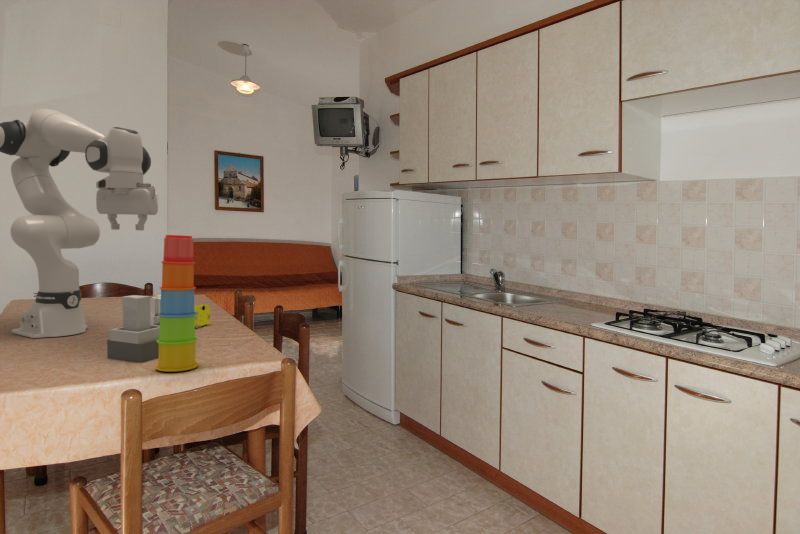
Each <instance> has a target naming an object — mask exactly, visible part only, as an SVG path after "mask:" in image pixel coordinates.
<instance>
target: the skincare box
mask: <svg viewBox="0 0 800 534" xmlns="http://www.w3.org/2000/svg"><path fill="white" fill-rule="evenodd" d="M150 297H151V296H150V295H140V294H139V295H136V294H132V295H125V296H122V298H121V299H122V327H123V330H126V331H135V332H140V331H144V330H148V329H151V318H150Z"/></svg>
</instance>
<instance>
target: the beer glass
mask: <svg viewBox="0 0 800 534" xmlns="http://www.w3.org/2000/svg"><path fill="white" fill-rule="evenodd" d="M159 313H161V295H153V296H152V295H151V296H150V318H151V325H159V326H160V316H158V314H159Z"/></svg>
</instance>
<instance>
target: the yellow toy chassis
mask: <svg viewBox="0 0 800 534" xmlns="http://www.w3.org/2000/svg"><path fill="white" fill-rule="evenodd" d="M194 312H196V313H197V314H196V315H195V329H198V328H200V327H201V328H203V327H205V325H209V324H211V308H210V306H209V304H206V303H204V304H199V305H194ZM202 326H203V327H202Z"/></svg>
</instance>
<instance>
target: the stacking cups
mask: <svg viewBox="0 0 800 534" xmlns="http://www.w3.org/2000/svg"><path fill="white" fill-rule="evenodd" d="M160 263H162V267H161V270H162V271H161V273H162V274H161V286H160V287H159V289H160V296H161V313H159V314H158V316H160V332H159V339H158V340H157V343H159V357H158V363H157V365H155V370H157V371H159V372H167V373H171V372H174V373H175V372H184V371H185V372H186V371H189V370H193V369H196V368H198V367H199V362H198V361H196V360H197V357H196V354H197V353H196V342H197V341H198V340H199V338H198V337H197V336H196V328H195V315H196V314H197V313H196V312H194V306H195V290H196V289H197V287H196V286H195V285H194V283H195V278H194V277H195V276H194V274H195V273H194V272H195V271H194V266H195V264H196V261H194V238H193V236H192V235H181V234H176V235H175V234H165V237H164V238H163V260H161V261H160Z"/></svg>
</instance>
